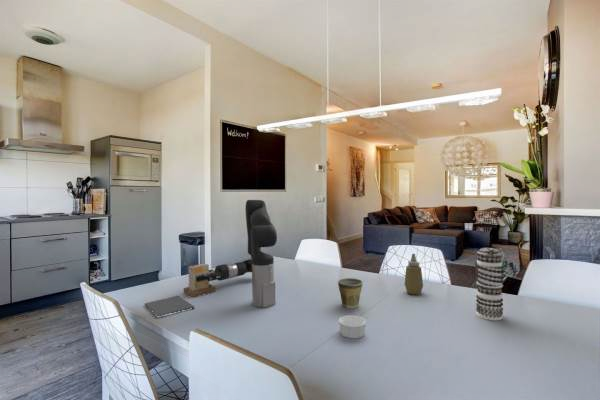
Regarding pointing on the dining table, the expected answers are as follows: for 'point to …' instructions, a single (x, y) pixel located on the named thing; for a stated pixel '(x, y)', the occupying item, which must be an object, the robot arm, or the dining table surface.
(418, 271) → the squeeze bottle
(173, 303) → the slate mat
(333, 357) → the dining table surface
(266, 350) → the dining table surface
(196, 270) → the supplement box
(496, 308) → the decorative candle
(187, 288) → the cradle
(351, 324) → the ramekin
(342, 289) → the ceramic cup
